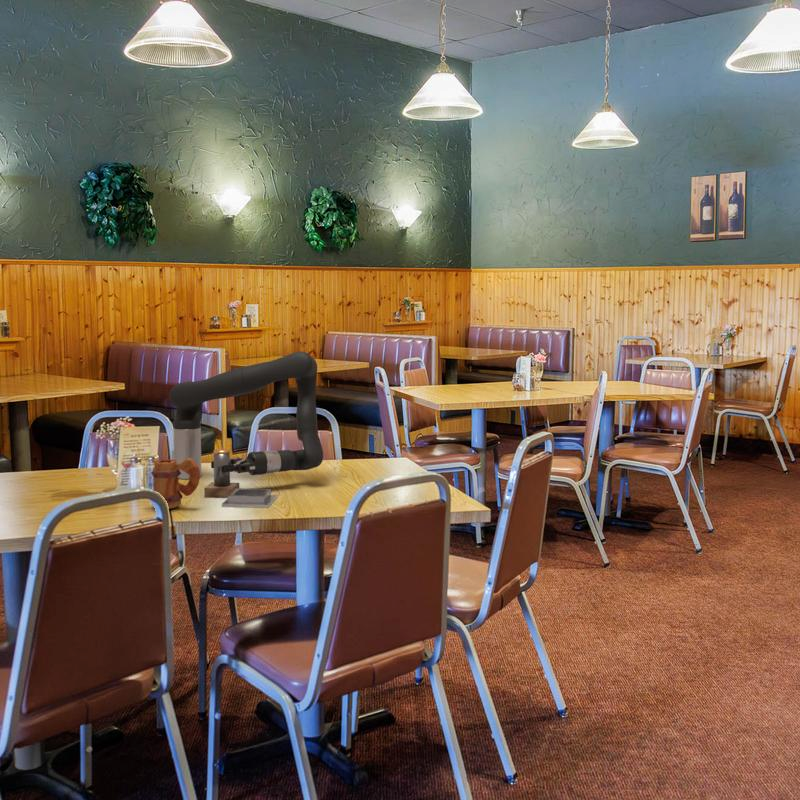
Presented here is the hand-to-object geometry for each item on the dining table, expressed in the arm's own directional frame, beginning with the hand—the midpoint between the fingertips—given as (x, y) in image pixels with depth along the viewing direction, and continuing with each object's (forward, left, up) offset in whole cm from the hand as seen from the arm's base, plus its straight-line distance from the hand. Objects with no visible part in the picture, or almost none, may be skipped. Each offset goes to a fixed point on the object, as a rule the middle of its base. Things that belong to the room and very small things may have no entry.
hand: (216, 467), depth 283 cm
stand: (+2, +1, -9) cm, 9 cm away
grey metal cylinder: (+1, +1, -6) cm, 6 cm away
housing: (+12, -9, -9) cm, 18 cm away
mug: (-8, -19, -9) cm, 22 cm away
